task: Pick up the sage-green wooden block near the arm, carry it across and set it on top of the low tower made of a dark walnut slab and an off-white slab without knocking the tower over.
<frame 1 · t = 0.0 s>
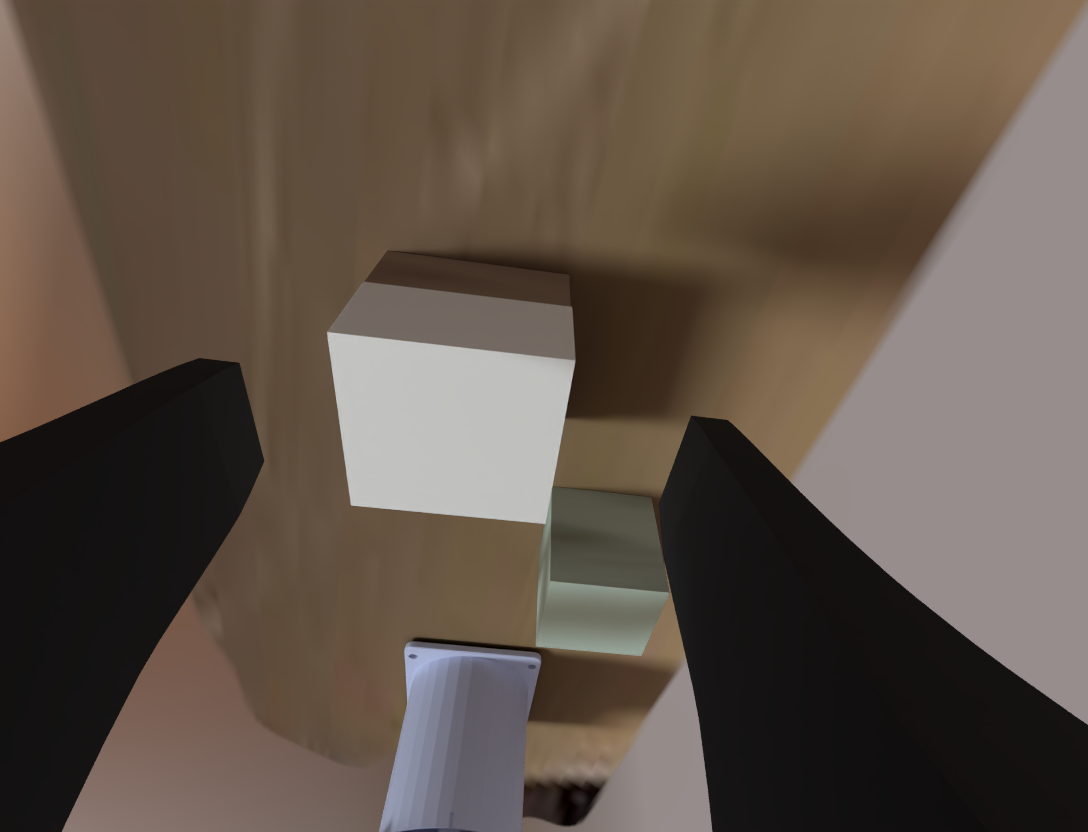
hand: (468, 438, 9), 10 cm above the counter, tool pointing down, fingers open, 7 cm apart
green block: (592, 524, 25), on the counter
base slab: (475, 338, 20), on the counter, touching top slab
top slab: (465, 381, 17), point 3 cm above the counter, touching base slab
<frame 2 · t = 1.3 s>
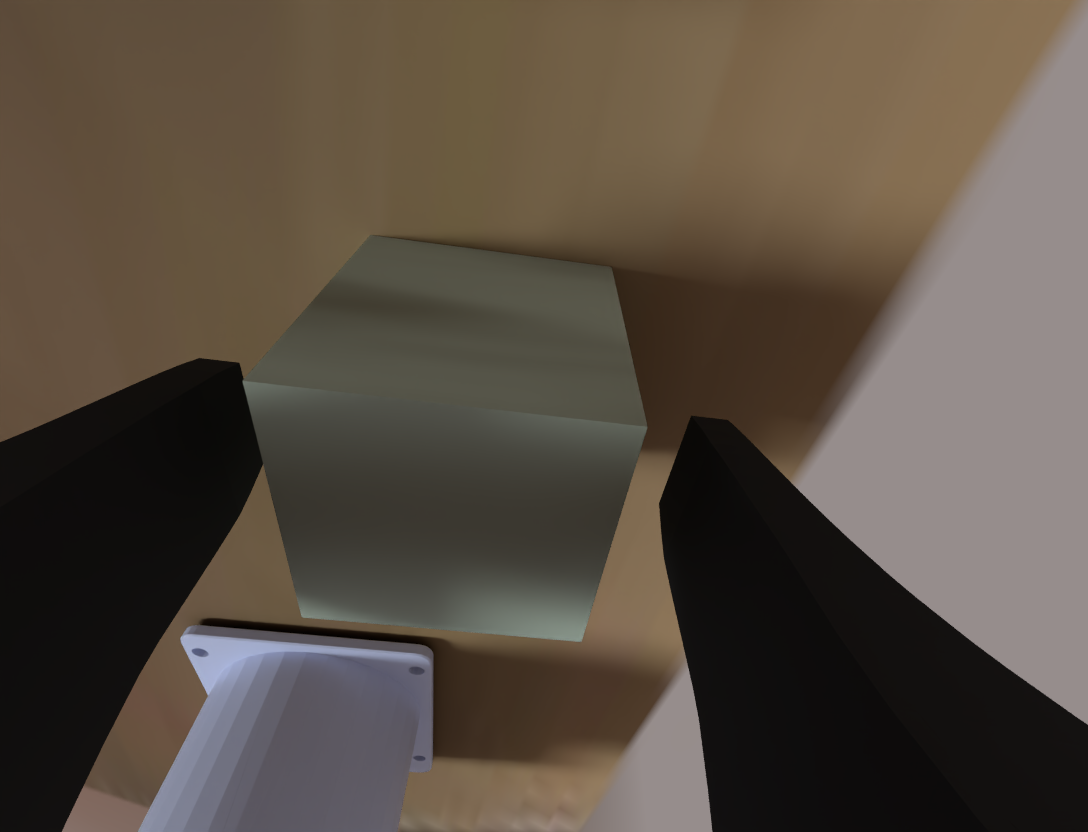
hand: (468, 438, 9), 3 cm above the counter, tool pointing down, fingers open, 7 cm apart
green block: (485, 354, 11), on the counter
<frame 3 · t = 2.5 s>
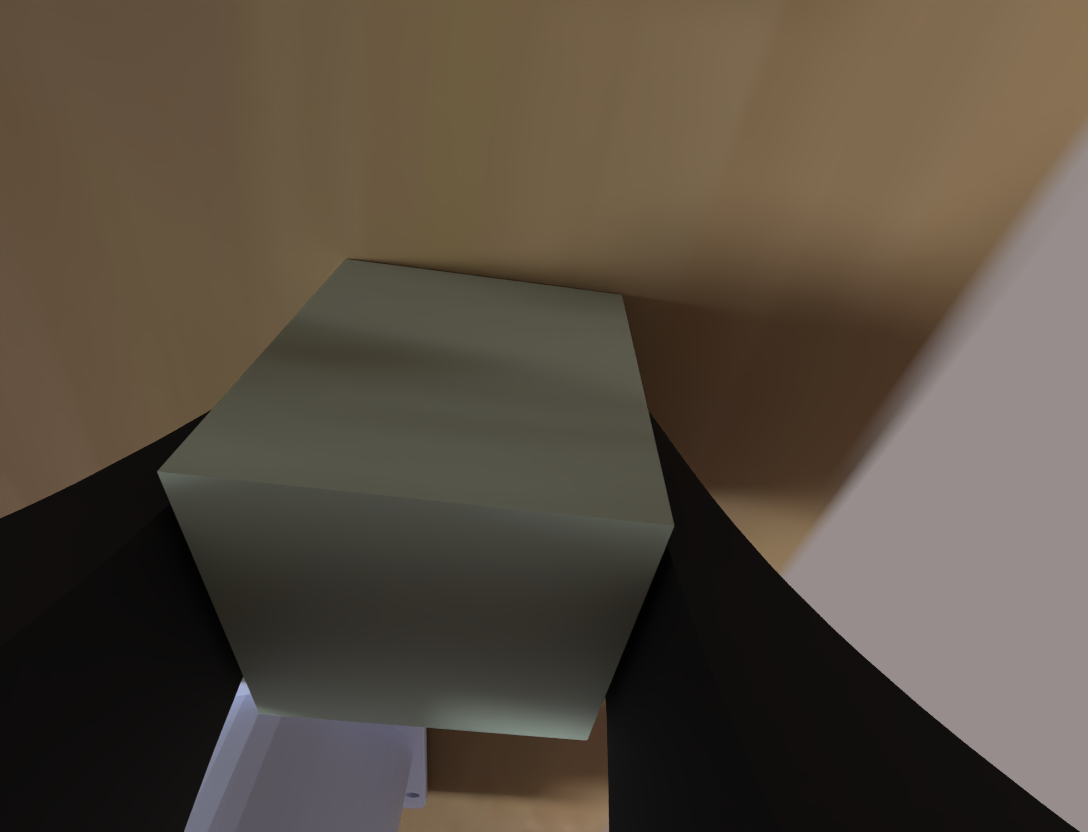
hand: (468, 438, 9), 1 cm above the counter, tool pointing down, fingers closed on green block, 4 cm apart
green block: (478, 390, 10), on the counter, touching gripper
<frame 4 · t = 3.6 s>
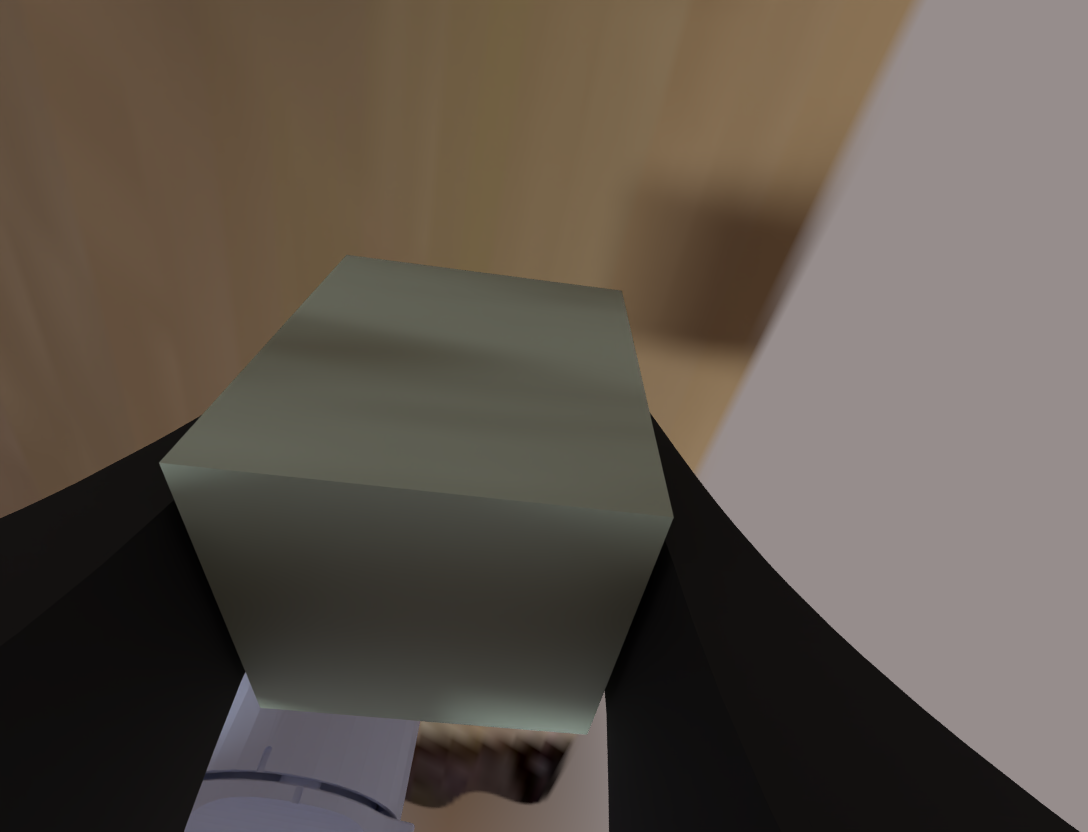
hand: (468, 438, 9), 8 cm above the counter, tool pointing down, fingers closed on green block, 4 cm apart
green block: (478, 386, 10), point 6 cm above the counter, touching gripper
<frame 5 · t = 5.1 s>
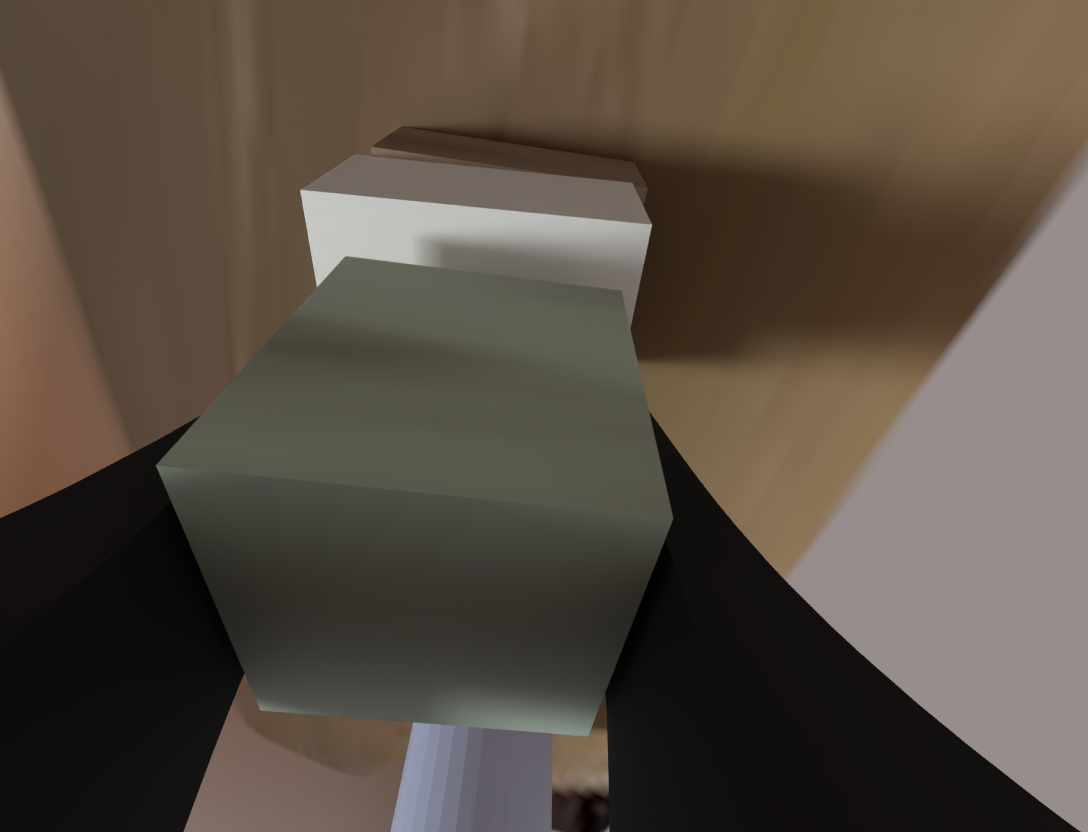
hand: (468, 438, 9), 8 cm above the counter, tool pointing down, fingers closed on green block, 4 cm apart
green block: (478, 387, 10), point 7 cm above the counter, touching gripper
base slab: (509, 254, 16), on the counter, touching top slab
top slab: (490, 298, 13), point 3 cm above the counter, touching base slab
when the fingers open (8 cm above the counter, at t = 5.7 s): green block drops 1 cm, resting on top slab.
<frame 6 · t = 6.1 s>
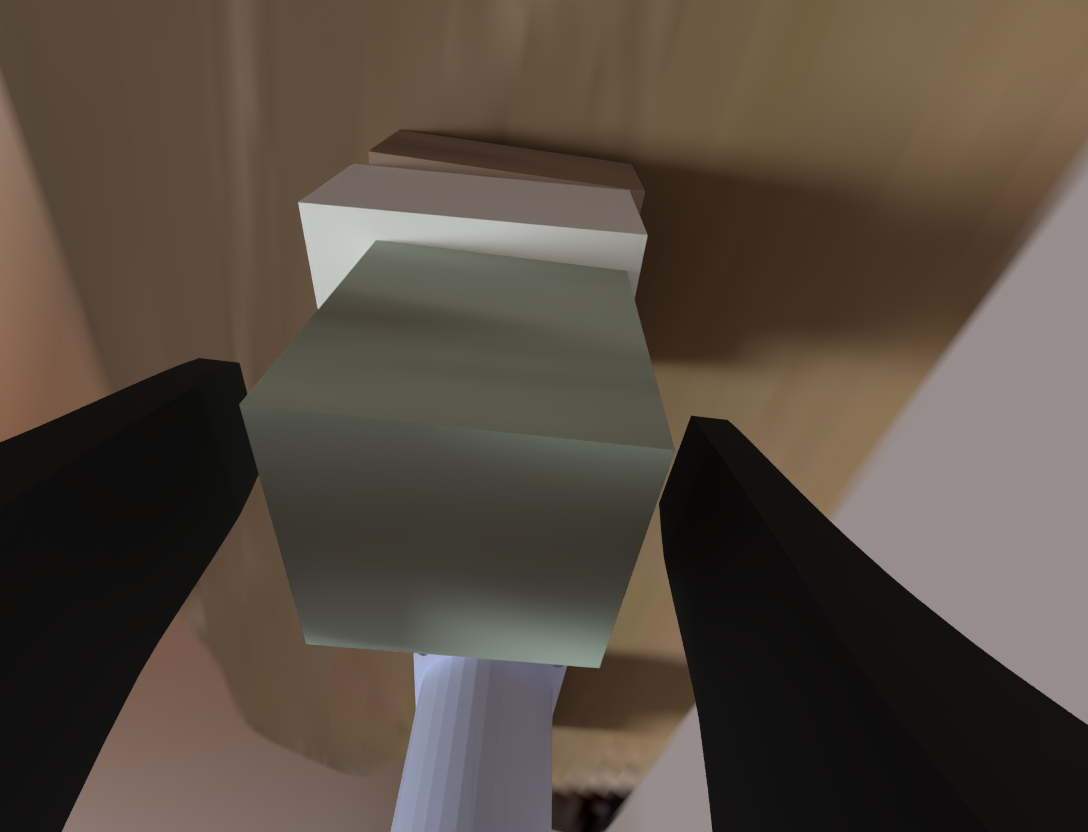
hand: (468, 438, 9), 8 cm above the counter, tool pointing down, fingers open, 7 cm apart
green block: (495, 363, 11), point 6 cm above the counter, touching top slab
base slab: (507, 257, 16), on the counter, touching top slab
top slab: (489, 304, 13), point 3 cm above the counter, touching base slab, green block
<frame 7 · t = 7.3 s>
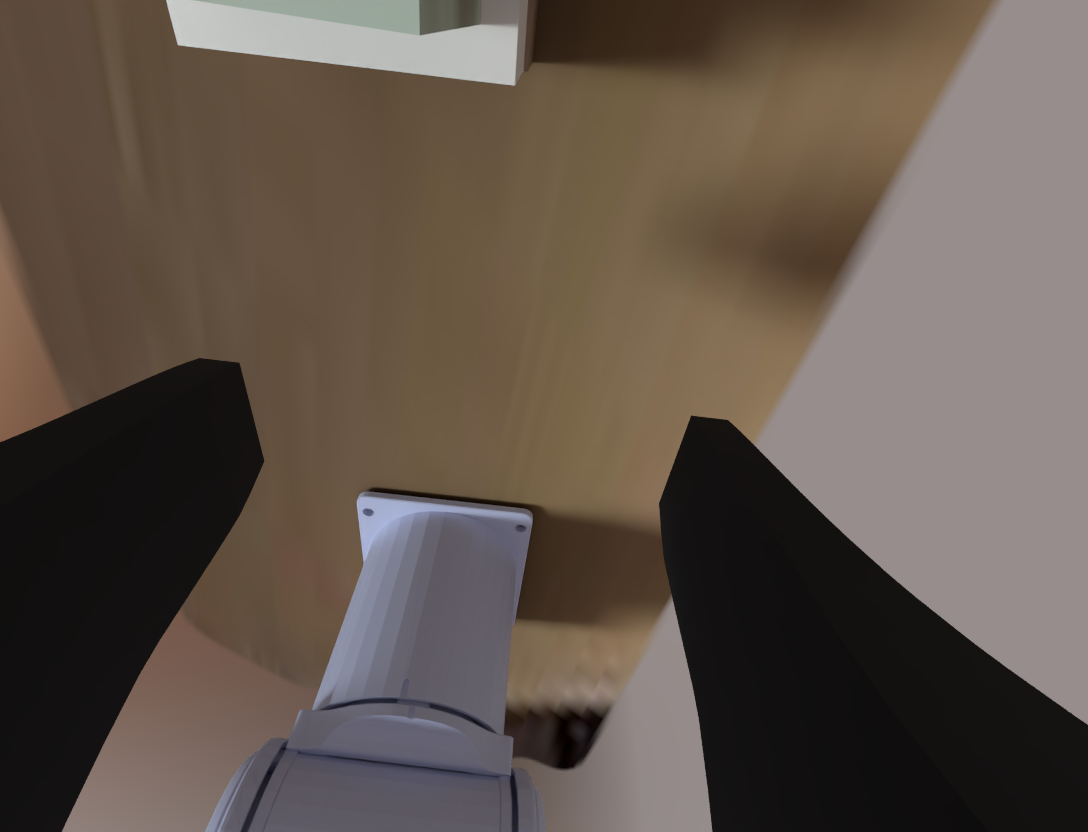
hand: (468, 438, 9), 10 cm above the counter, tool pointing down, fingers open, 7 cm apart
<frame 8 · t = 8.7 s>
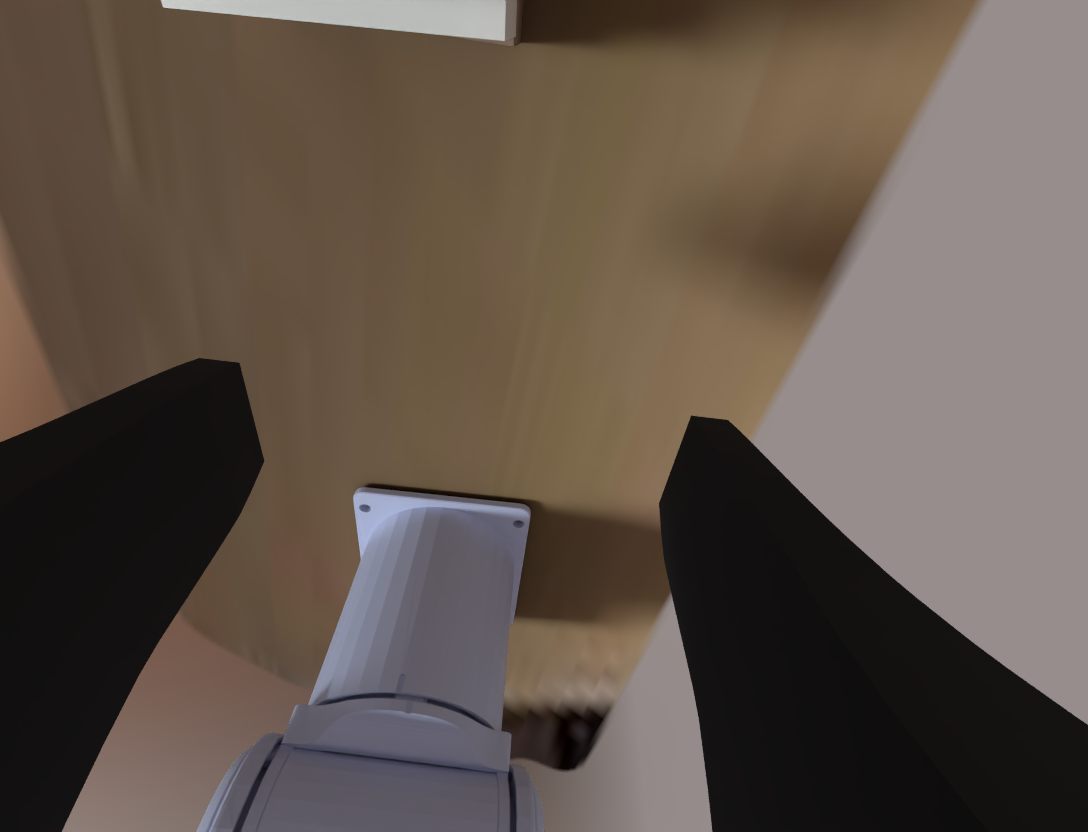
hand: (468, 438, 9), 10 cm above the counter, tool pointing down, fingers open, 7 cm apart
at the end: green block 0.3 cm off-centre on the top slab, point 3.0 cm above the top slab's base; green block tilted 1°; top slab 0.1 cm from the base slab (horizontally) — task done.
